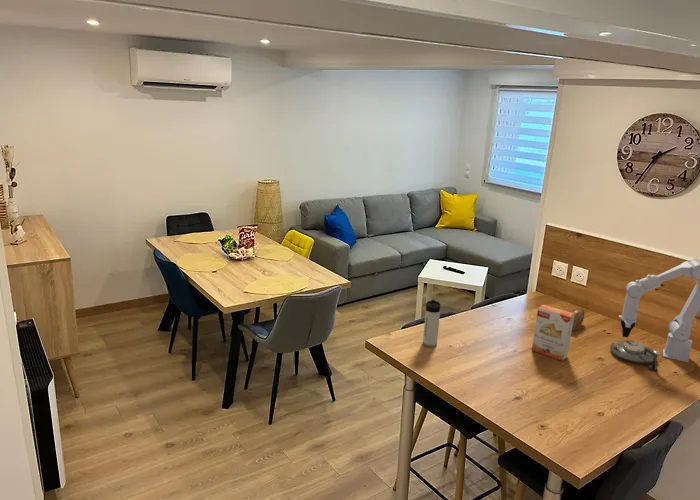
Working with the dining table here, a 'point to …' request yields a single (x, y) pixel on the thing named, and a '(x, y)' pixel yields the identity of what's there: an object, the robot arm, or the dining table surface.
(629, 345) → the cover
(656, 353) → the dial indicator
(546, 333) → the cracker box
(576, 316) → the tin
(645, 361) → the disc
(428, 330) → the travel mug
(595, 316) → the dining table surface
